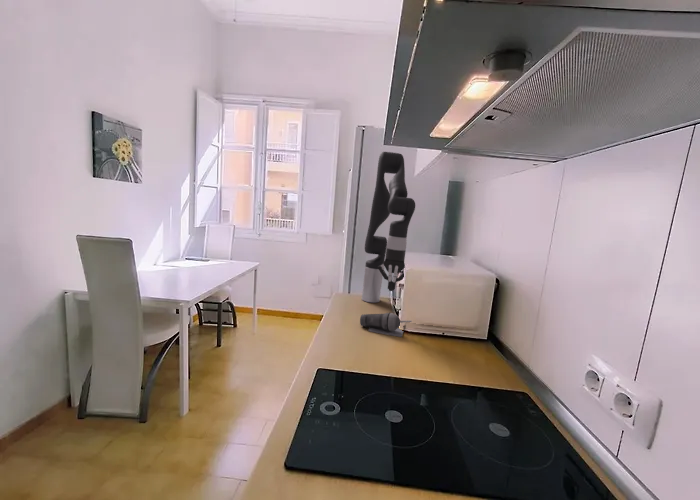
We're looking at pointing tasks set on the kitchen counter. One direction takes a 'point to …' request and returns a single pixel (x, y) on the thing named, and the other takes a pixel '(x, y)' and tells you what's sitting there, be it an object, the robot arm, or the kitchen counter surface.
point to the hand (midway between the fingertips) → (390, 290)
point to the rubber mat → (387, 332)
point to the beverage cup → (381, 321)
